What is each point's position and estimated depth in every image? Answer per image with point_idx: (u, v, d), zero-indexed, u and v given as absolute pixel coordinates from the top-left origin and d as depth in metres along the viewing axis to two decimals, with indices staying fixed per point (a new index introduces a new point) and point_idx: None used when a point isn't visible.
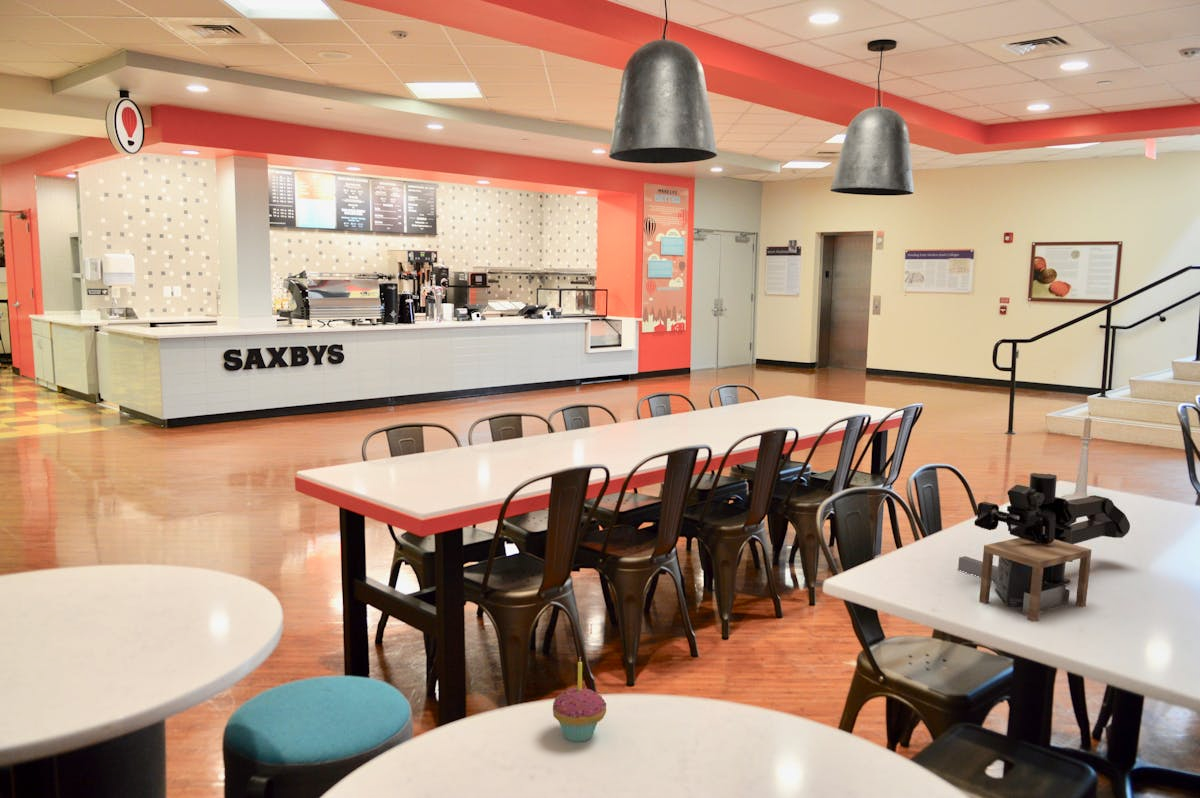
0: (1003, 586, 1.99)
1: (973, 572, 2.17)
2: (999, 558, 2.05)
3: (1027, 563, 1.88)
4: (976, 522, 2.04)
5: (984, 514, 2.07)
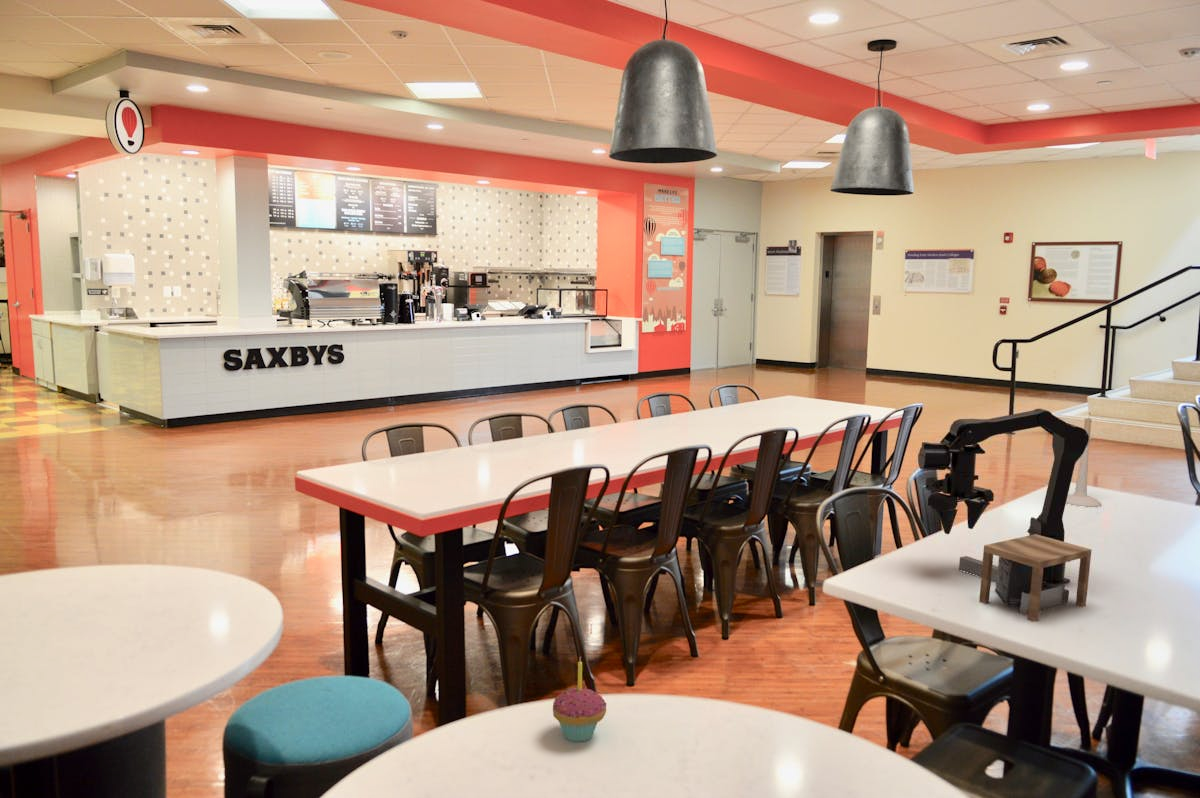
0: (1003, 586, 1.99)
1: (974, 572, 2.17)
2: (999, 558, 2.05)
3: (1027, 563, 1.88)
4: (969, 527, 2.18)
5: None
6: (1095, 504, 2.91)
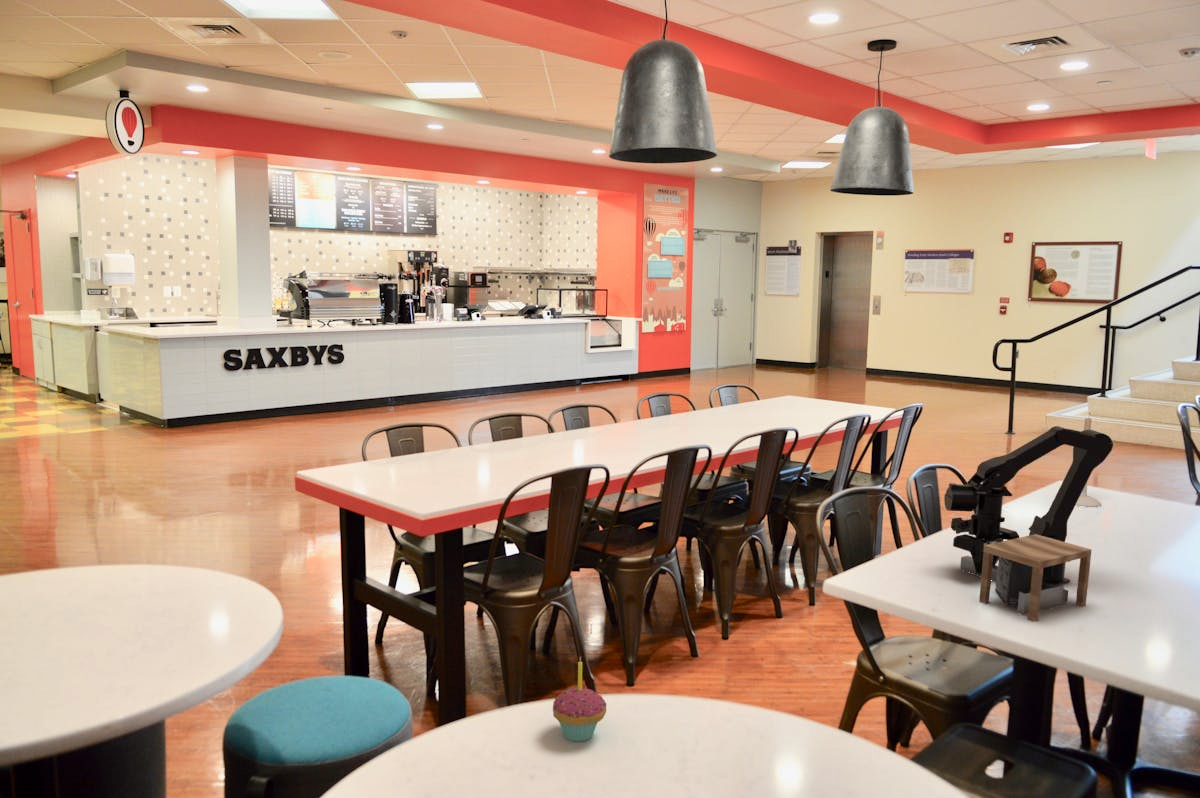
0: (1003, 586, 1.99)
1: (974, 572, 2.17)
2: (999, 558, 2.05)
3: (1027, 563, 1.88)
4: None
5: None
6: (1095, 504, 2.91)
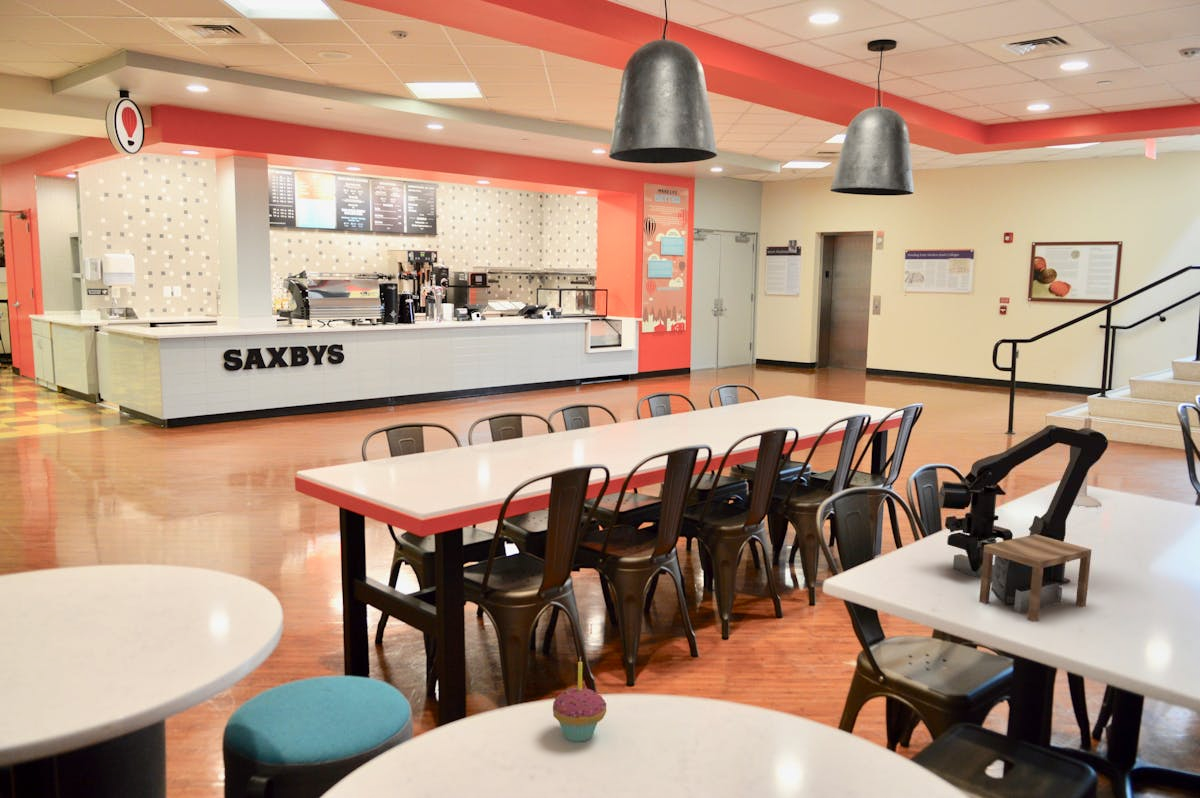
0: (1000, 585, 2.00)
1: (968, 570, 2.18)
2: (995, 557, 2.05)
3: (1027, 563, 1.88)
4: None
5: None
6: (1095, 504, 2.91)
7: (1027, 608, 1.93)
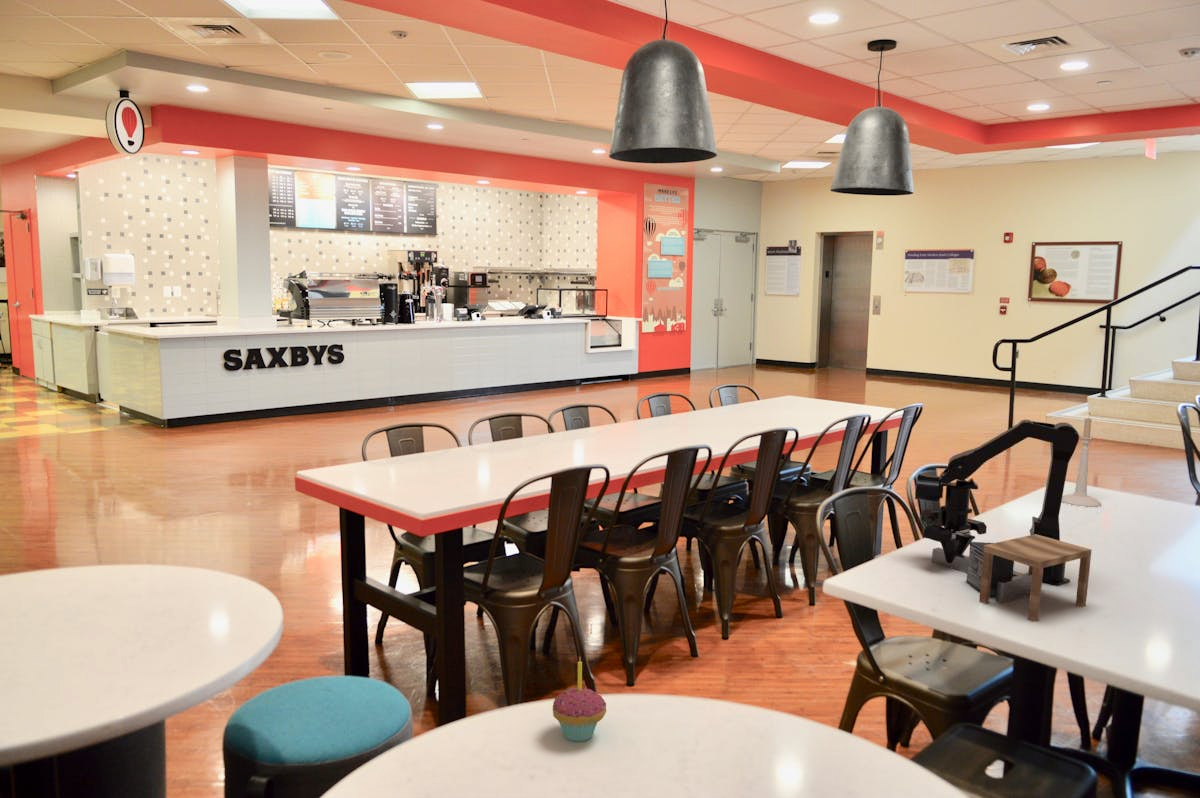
0: (980, 578, 2.05)
1: (946, 563, 2.24)
2: (970, 550, 2.10)
3: (1027, 563, 1.88)
4: None
5: None
6: (1095, 504, 2.91)
7: (1008, 599, 1.99)
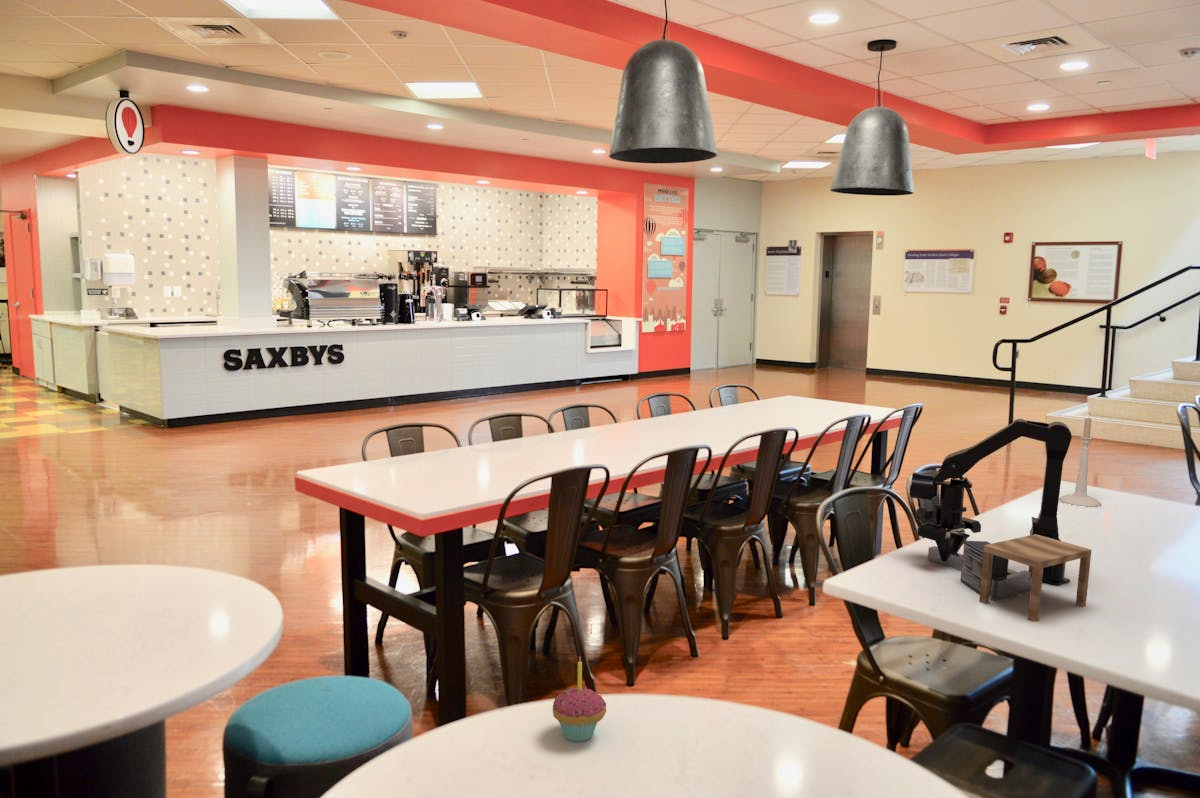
0: (975, 576, 2.06)
1: (942, 561, 2.25)
2: (964, 549, 2.11)
3: (1027, 563, 1.88)
4: None
5: None
6: (1095, 504, 2.91)
7: (1002, 597, 2.00)
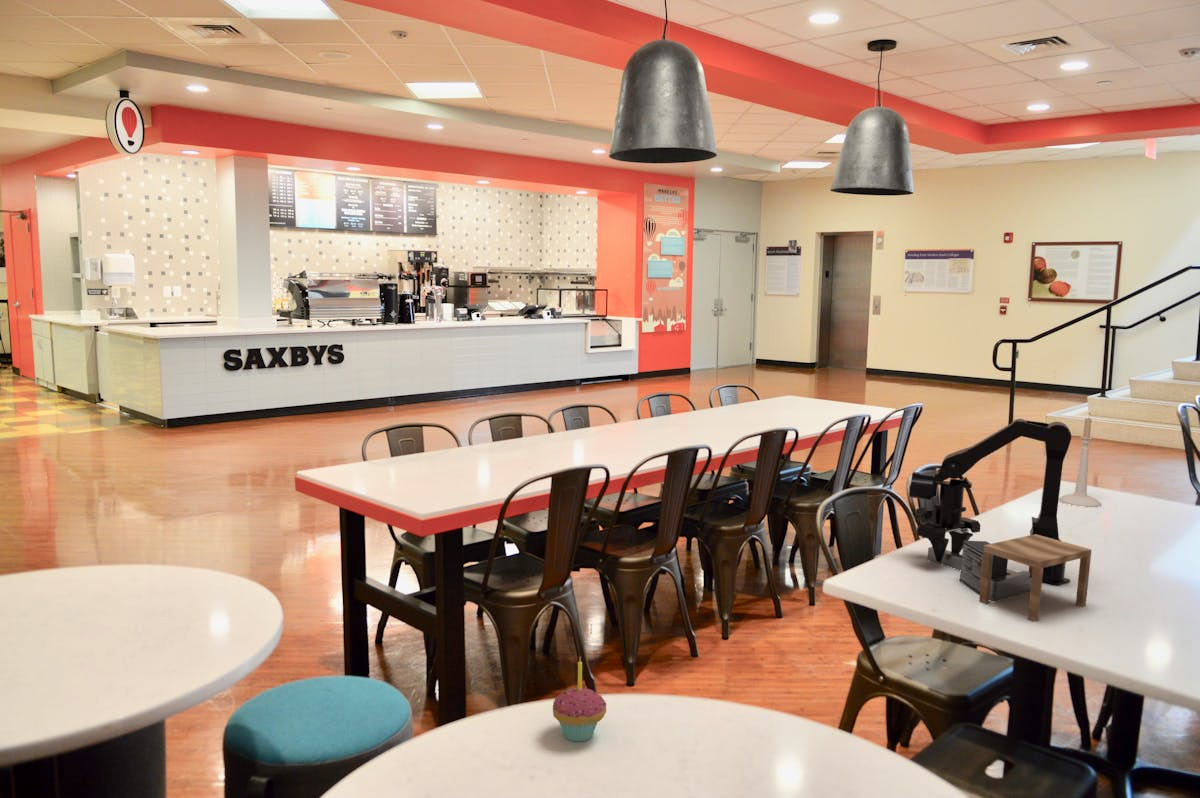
0: (974, 576, 2.06)
1: (942, 562, 2.25)
2: (964, 549, 2.11)
3: (1027, 563, 1.88)
4: None
5: None
6: (1095, 504, 2.91)
7: (1001, 597, 2.00)
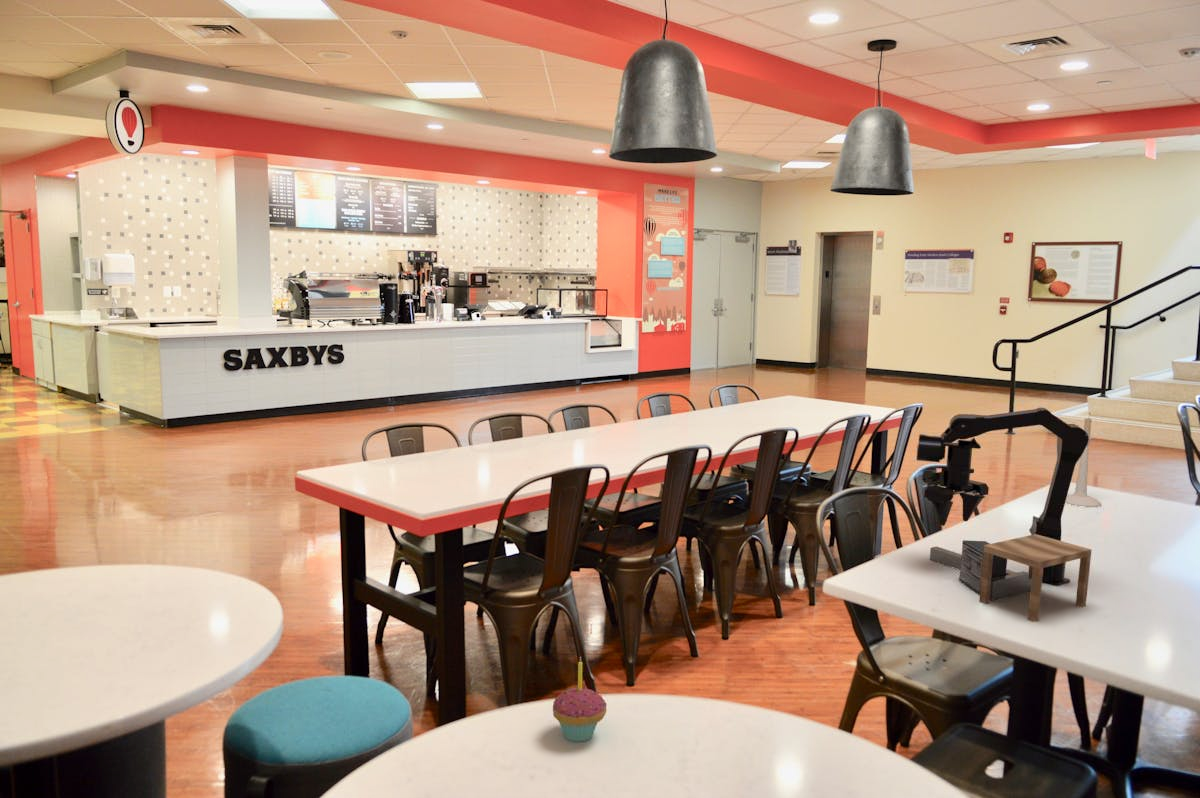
0: (973, 576, 2.06)
1: (944, 562, 2.25)
2: (963, 549, 2.11)
3: (1027, 563, 1.88)
4: (964, 519, 2.23)
5: None
6: (1095, 504, 2.91)
7: (998, 597, 2.00)
